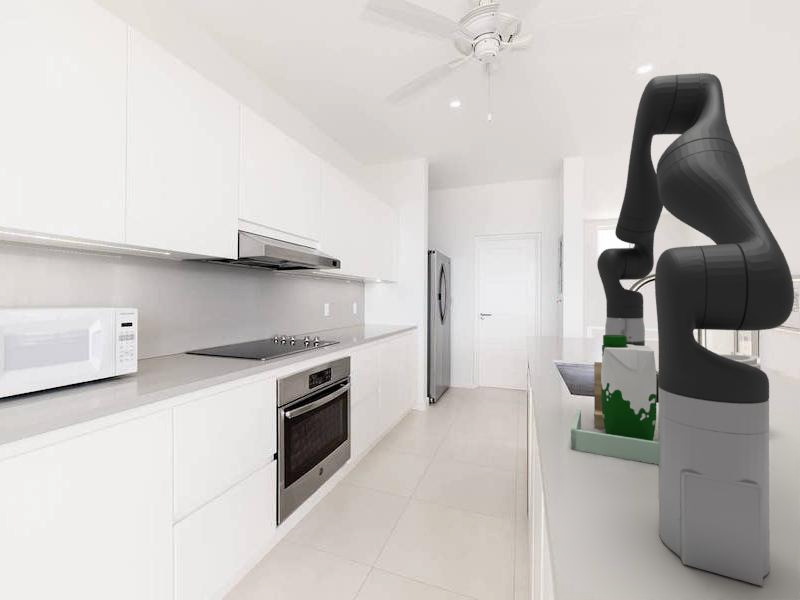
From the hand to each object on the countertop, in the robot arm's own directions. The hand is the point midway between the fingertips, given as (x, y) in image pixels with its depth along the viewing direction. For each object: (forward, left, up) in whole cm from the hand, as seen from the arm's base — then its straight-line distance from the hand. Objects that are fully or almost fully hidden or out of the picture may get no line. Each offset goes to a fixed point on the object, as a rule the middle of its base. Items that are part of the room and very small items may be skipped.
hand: (624, 414), depth 82 cm
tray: (-16, -1, -1) cm, 16 cm away
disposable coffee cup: (+5, -19, -1) cm, 19 cm away
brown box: (-5, +1, -1) cm, 6 cm away
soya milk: (-13, 0, -1) cm, 13 cm away
